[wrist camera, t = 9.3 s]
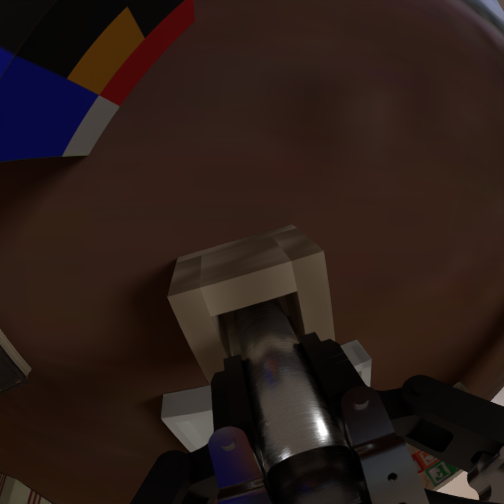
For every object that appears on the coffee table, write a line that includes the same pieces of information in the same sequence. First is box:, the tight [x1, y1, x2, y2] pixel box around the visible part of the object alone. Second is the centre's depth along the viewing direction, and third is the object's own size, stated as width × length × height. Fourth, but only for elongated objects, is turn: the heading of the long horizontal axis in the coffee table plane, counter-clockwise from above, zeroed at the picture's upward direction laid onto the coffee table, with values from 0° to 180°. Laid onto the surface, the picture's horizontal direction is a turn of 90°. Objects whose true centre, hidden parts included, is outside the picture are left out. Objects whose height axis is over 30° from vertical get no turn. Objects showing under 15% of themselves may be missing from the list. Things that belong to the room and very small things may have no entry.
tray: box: [161, 339, 371, 464], centre depth 21 cm, size 16×12×3 cm
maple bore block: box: [167, 225, 335, 386], centre depth 15 cm, size 7×7×5 cm
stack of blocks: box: [406, 382, 471, 491], centre depth 22 cm, size 21×6×12 cm, turn 102°
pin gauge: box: [234, 298, 365, 504], centre depth 9 cm, size 3×3×12 cm
